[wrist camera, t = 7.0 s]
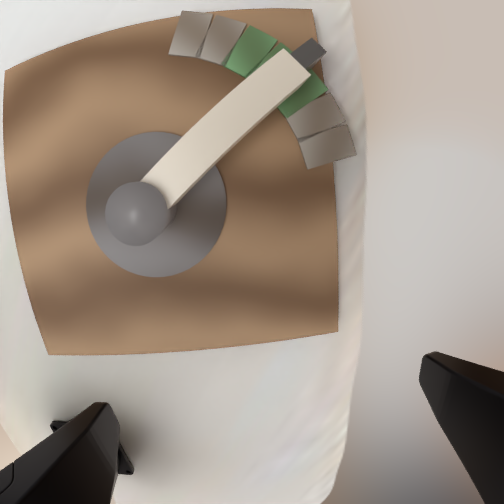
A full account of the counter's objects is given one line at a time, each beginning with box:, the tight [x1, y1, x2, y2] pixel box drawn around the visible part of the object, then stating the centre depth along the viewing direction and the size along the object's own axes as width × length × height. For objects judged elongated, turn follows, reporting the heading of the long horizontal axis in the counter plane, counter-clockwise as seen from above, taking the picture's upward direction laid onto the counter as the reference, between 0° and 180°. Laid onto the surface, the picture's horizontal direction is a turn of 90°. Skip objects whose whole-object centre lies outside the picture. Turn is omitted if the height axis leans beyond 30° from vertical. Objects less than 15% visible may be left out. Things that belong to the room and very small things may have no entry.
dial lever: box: [105, 38, 326, 246], centre depth 14 cm, size 13×3×3 cm, turn 134°
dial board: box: [3, 8, 356, 355], centre depth 17 cm, size 20×21×1 cm
